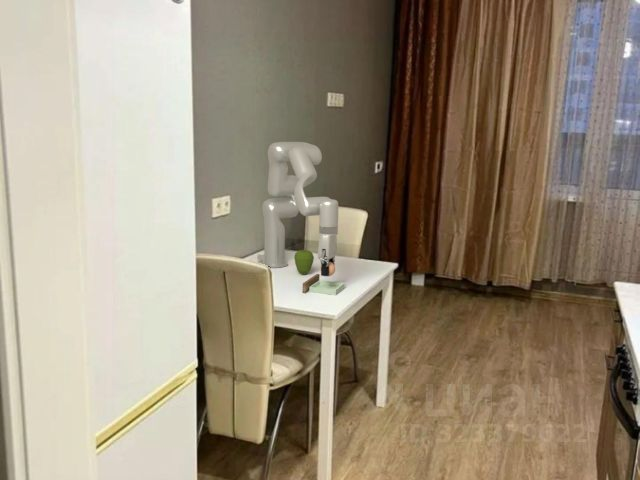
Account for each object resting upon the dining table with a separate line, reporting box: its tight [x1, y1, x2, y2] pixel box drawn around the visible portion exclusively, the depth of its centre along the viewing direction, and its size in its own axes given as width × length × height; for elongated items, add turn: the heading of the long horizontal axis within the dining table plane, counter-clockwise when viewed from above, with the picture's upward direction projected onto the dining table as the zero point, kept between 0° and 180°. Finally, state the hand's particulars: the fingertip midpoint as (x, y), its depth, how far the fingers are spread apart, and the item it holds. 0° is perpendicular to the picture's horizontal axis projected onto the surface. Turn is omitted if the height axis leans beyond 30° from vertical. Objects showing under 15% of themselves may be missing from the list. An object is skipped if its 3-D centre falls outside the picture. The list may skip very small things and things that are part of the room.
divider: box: [302, 273, 321, 294], centre depth 249 cm, size 1×16×4 cm, turn 159°
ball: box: [328, 262, 336, 277], centre depth 245 cm, size 6×6×6 cm
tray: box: [308, 279, 346, 296], centre depth 246 cm, size 11×11×2 cm
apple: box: [293, 249, 315, 275], centre depth 269 cm, size 9×8×12 cm
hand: (327, 273), depth 245 cm, fingers closed on ball, 5 cm apart
